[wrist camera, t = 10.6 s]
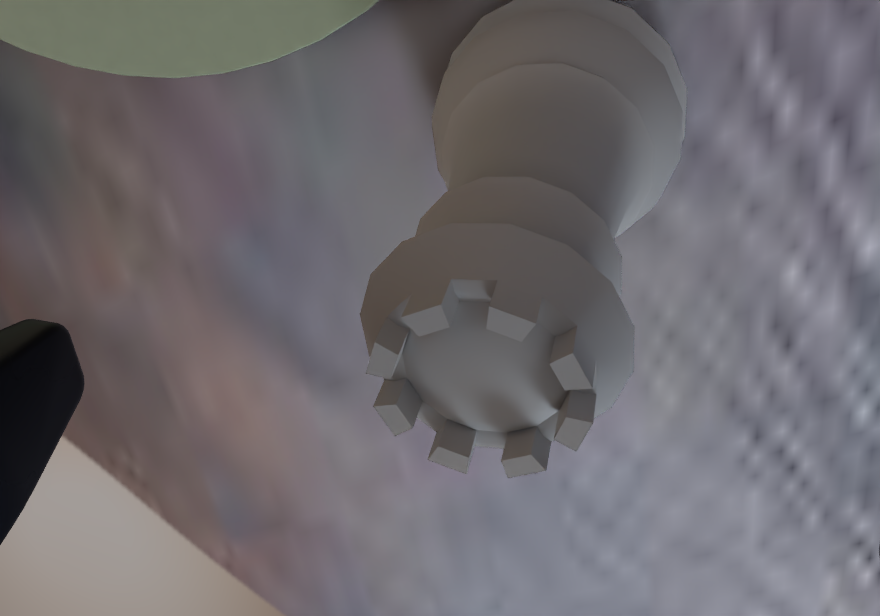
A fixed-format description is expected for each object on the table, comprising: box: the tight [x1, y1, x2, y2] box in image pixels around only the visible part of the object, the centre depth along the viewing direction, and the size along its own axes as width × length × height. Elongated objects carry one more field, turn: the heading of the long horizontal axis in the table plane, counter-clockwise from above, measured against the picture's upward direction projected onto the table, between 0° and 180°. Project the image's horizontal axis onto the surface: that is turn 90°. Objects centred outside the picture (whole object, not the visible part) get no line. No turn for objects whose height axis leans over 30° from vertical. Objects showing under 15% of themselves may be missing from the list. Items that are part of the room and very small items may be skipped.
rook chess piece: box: [360, 0, 687, 478], centre depth 12 cm, size 4×4×8 cm
